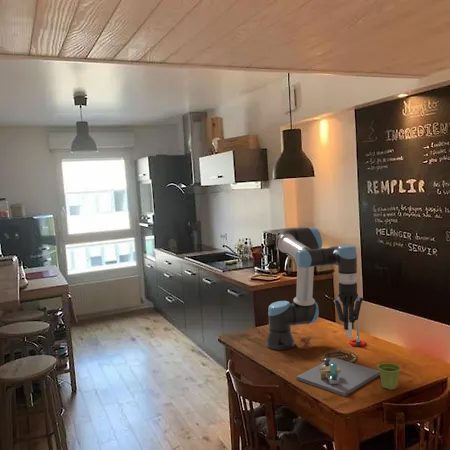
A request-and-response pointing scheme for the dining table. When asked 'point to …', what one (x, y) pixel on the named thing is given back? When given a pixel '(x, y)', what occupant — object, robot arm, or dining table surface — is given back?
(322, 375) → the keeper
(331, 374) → the lever
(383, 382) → the plant pot
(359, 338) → the tow hook
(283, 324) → the robot arm
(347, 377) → the base plate
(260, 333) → the dining table surface
